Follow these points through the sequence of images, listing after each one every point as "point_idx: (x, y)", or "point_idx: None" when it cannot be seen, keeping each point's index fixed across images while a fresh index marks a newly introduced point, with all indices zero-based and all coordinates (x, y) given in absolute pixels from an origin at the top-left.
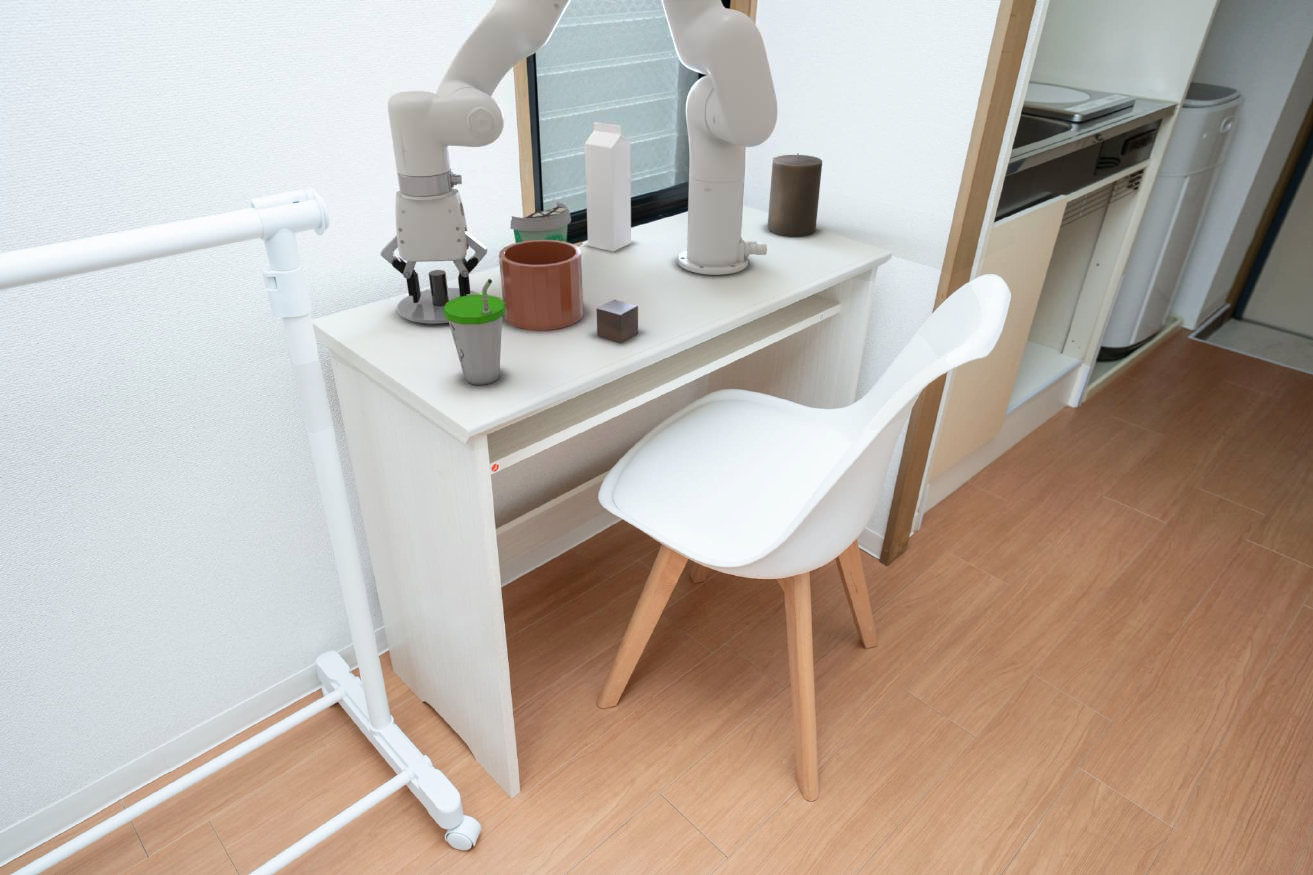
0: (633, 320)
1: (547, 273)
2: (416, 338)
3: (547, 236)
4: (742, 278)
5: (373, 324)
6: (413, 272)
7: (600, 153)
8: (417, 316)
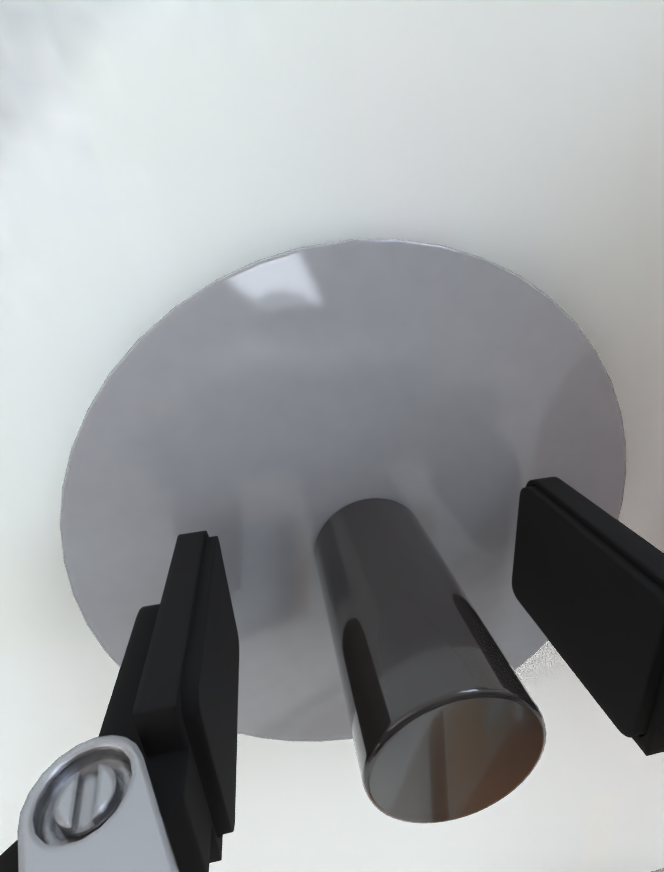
0: None
1: None
2: (301, 789)
3: None
4: None
5: (18, 719)
6: (196, 867)
7: None
8: (271, 721)
